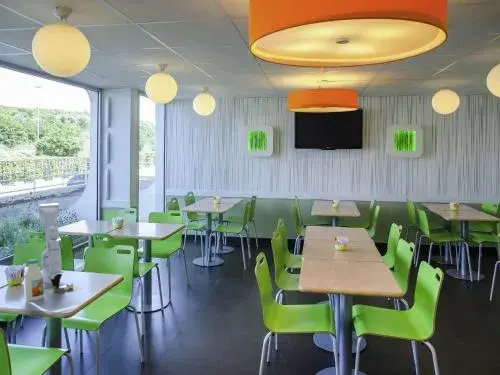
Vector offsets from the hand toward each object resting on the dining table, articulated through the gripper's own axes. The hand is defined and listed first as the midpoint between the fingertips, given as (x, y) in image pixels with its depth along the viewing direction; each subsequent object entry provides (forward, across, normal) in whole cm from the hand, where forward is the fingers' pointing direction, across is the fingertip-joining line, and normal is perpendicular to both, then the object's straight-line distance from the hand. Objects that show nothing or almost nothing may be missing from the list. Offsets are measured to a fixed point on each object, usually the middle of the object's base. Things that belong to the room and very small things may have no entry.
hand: (56, 289), depth 220 cm
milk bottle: (+2, -8, +8) cm, 12 cm away
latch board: (+2, +2, -3) cm, 4 cm away
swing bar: (+1, 0, -3) cm, 3 cm away
